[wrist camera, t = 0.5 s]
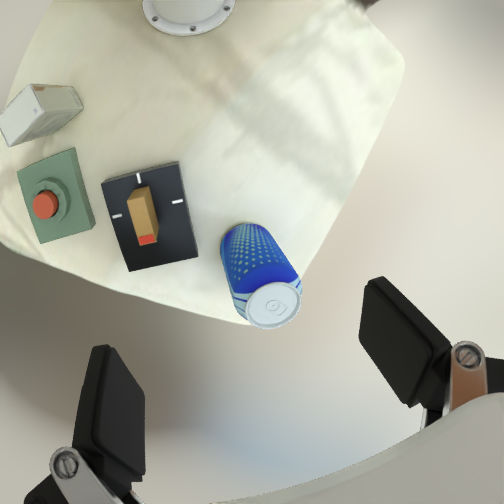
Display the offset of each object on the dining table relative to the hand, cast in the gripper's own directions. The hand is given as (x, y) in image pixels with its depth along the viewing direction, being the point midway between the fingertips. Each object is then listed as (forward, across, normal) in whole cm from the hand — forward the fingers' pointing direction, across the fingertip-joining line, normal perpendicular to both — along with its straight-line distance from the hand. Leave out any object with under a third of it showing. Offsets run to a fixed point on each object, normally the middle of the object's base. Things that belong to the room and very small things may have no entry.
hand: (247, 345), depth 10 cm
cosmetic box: (+33, +18, -14) cm, 40 cm away
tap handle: (+31, +8, +3) cm, 32 cm away
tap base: (+33, +8, +5) cm, 34 cm away
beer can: (+34, -5, +13) cm, 36 cm away
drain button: (+29, +22, -2) cm, 37 cm away
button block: (+33, +22, -2) cm, 40 cm away
